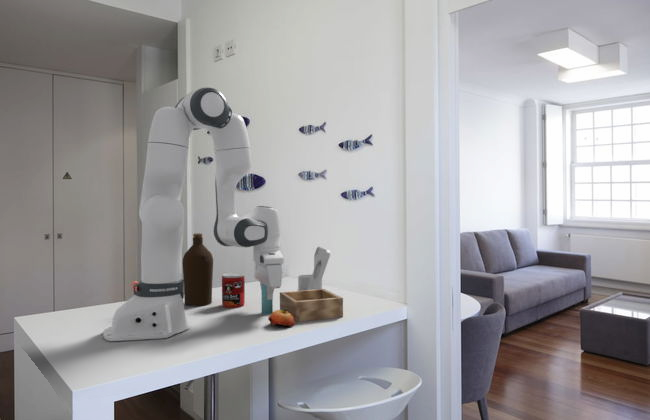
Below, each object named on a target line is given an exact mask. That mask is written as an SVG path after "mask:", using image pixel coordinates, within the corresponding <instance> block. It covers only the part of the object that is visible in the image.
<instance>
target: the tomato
mask: <svg viewBox="0 0 650 420" xmlns="http://www.w3.org/2000/svg"><path fill="white" fill-rule="evenodd" d="M269 315H270V316H269V317H268V321H269V322H270V325H282V326H289V327H290V328H293V326H294V325H295V321H294V318H293V316H292V315H291V314H290V313H289V312H287V310H286V309H284V310H283V311H282V310H280V309H277V310H274V311H273V313H272V314H269Z"/></svg>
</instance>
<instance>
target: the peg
mask: <svg viewBox="0 0 650 420" xmlns="http://www.w3.org/2000/svg"><path fill="white" fill-rule="evenodd" d="M260 290H261V315H271V314H272V313H273V312H274V311H273V310H274V309H273V307H274V306H273V299H274V298H273V299H272V300H268V299H267V298H266V294H267V286H265V285H264V284H263V283H262V282H261V286H260Z"/></svg>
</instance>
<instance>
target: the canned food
mask: <svg viewBox="0 0 650 420" xmlns="http://www.w3.org/2000/svg"><path fill="white" fill-rule="evenodd" d="M245 280H246V279H245V273H243V272H228V273H223V274H222V275H221V298H222V299H221V305H222V307H224V308H225V309H227V308H228V309H233V308H234V309H236V308H241V307H243V306H244V305H245V301H246V300H245V287H246V286H245V282H246V281H245Z"/></svg>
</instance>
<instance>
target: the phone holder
mask: <svg viewBox="0 0 650 420" xmlns="http://www.w3.org/2000/svg"><path fill="white" fill-rule="evenodd" d="M330 257H331V251H330V250H328V249H327V248H324V247H320V246H317V247H316V250H315V252H314V255H313V271H312V274H300V275H298V277H297V279H298V285H297V286H298V287H297V291H303V290H315V289H323V276H324V273H325V270H326V268H327V265H328V262H329V259H330Z"/></svg>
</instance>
